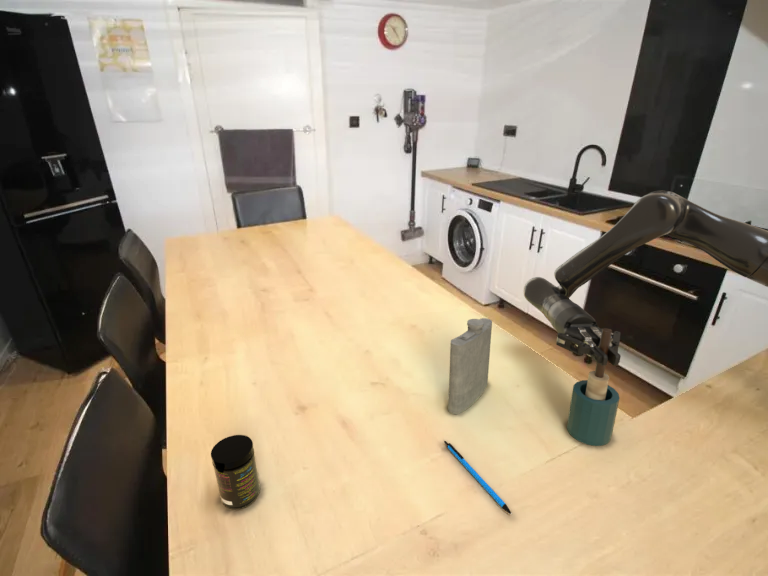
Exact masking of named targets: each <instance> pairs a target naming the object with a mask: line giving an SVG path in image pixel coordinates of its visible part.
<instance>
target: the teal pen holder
mask: <svg viewBox="0 0 768 576" xmlns="http://www.w3.org/2000/svg"><path fill="white" fill-rule="evenodd" d="M587 381H588V379H583V380H579V381H576V382H575V383H574V384H573V385H572V393H571V398H570V405H569V410H568V416H567V425H566V429H567V432H568V433H569V435H570V436H571V437H572V438H574V439H575V440H576V441H577V442H580V443H582V444H584V445H587V446H593V447H594V446H595V447H602V446H607V444H609V443H610V442H611V439H612V436H613V433H614V427H615V422H616V417H617V414H618V413H617V412H618V408H619V403H620V394H619V392H618V391H617V390H616V389H615V388H614V387H612V386H610V385H609V384H608V387H607V392H606V398H605V401H600V400H595V399H591V398H589V397H587V396H585V393H586V387H587Z"/></svg>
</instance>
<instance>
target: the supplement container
mask: <svg viewBox="0 0 768 576" xmlns="http://www.w3.org/2000/svg"><path fill="white" fill-rule="evenodd" d="M210 457H211V463H212V466H213V470H214V475H215V479H216V484H217V489H218V492H219V497H220V501H221V504H222V505H223V506H224V507H225V508H227V509H230V510H241V509H244V508H246V507H248V506H250V505H251V504H253V502H255V501H256V499H257V498H258V497H259V495H260V492H261V484H260V478H259V477H260V476H259V472H258V467H257V461H256V456H255V448H254V443H253V439H252V438H251V437H250V436H248V435H245V434H233V435H230V436H227V437H224V438H222V439H221V440H219V441H218V442H216V443H215V445H214V446H213V448H212V449H211V451H210Z"/></svg>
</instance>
